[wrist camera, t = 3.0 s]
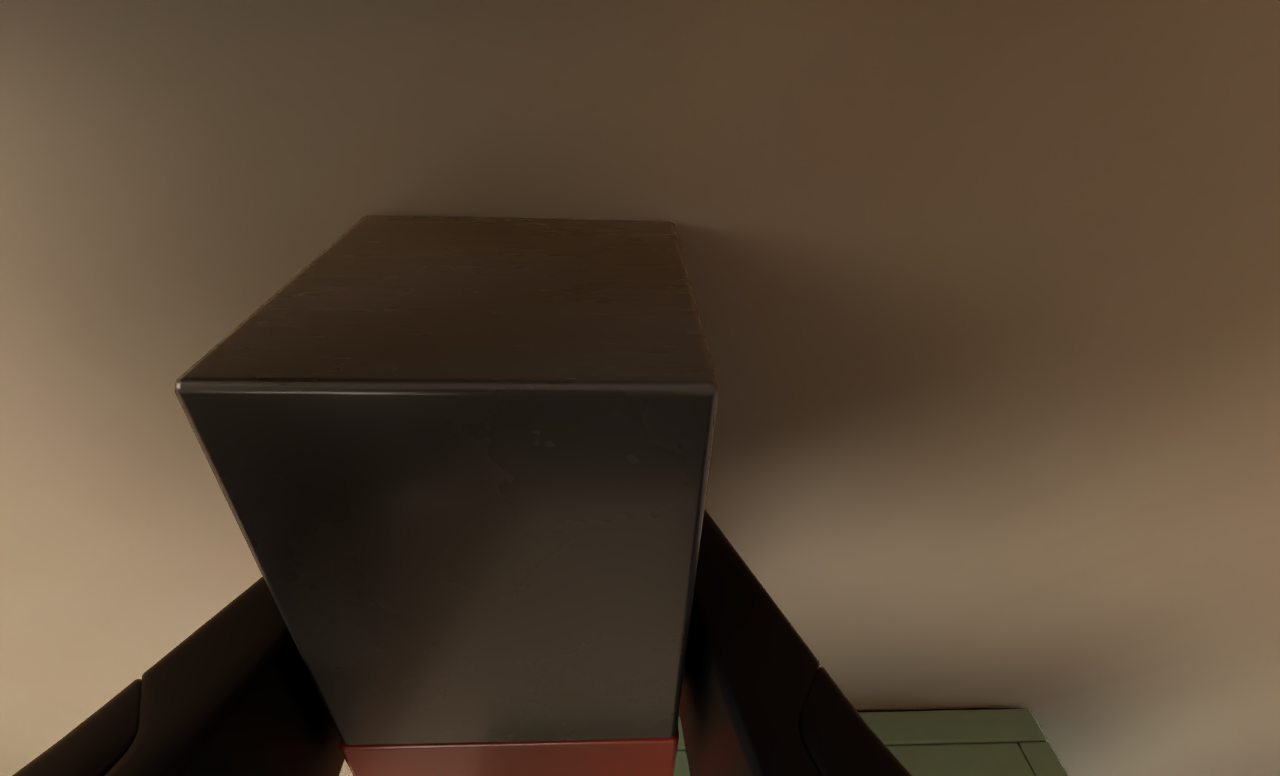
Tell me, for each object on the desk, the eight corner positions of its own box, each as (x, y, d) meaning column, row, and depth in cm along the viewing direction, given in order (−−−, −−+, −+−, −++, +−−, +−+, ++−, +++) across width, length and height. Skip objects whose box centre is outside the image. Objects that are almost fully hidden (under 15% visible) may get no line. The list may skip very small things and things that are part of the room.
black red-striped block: (677, 218, 8) (728, 389, 4) (650, 621, 12) (664, 854, 9) (360, 212, 8) (156, 385, 4) (453, 624, 12) (392, 864, 9)
